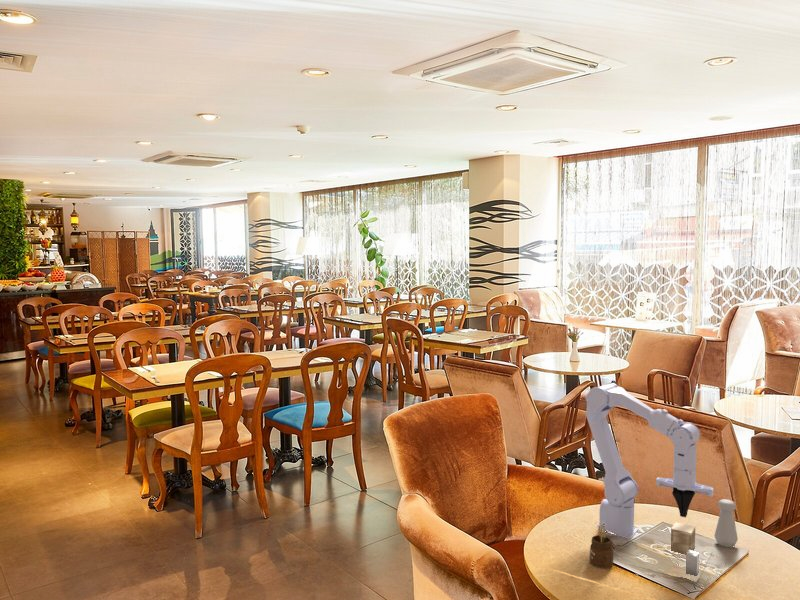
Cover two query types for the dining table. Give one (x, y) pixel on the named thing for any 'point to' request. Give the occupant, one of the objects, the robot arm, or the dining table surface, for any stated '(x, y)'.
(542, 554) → the dining table surface
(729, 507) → the salt shaker
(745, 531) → the dining table surface
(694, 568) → the steel post
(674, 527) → the wood block
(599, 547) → the utensil holder
